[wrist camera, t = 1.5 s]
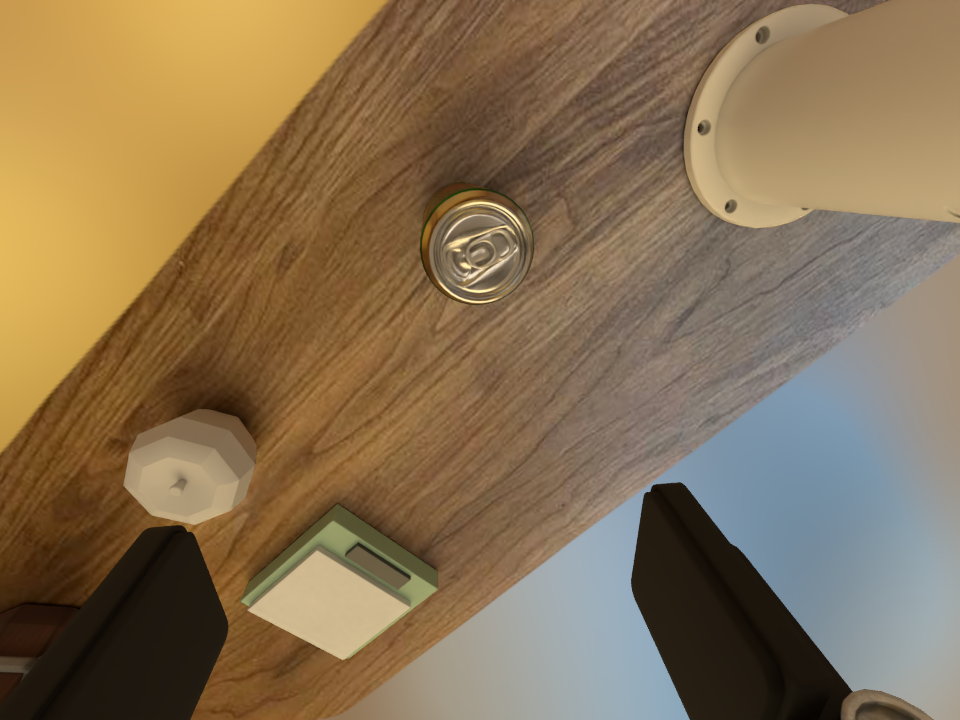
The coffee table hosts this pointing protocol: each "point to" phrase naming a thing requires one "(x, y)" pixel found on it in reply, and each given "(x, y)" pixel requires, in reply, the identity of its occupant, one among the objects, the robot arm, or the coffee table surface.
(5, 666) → the mug
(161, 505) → the white apple
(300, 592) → the scale
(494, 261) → the soda can
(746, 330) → the coffee table surface
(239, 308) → the coffee table surface
